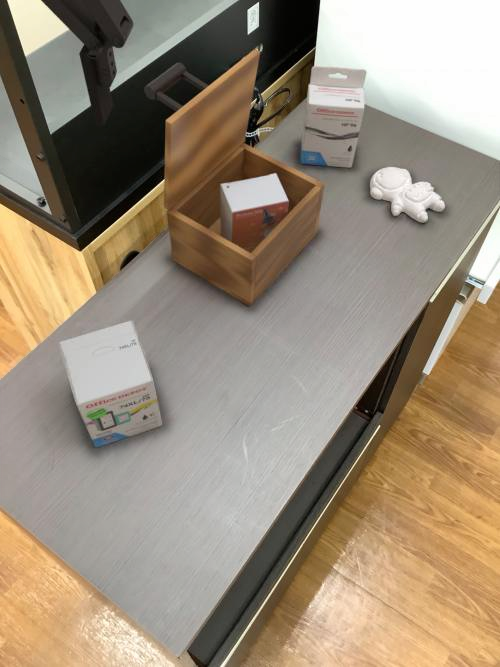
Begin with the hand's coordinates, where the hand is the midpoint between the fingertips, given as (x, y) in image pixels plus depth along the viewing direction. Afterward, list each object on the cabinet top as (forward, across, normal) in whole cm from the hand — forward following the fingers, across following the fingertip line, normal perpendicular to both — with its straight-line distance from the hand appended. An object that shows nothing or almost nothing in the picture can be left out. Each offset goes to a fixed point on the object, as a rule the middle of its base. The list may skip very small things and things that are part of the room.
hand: (28, 105), depth 54 cm
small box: (+34, +17, +17) cm, 42 cm away
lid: (+17, +12, +20) cm, 29 cm away
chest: (+35, +16, +18) cm, 42 cm away
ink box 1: (+35, +6, -11) cm, 37 cm away
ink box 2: (+35, +26, +39) cm, 58 cm away
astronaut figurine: (+35, +39, +32) cm, 61 cm away
